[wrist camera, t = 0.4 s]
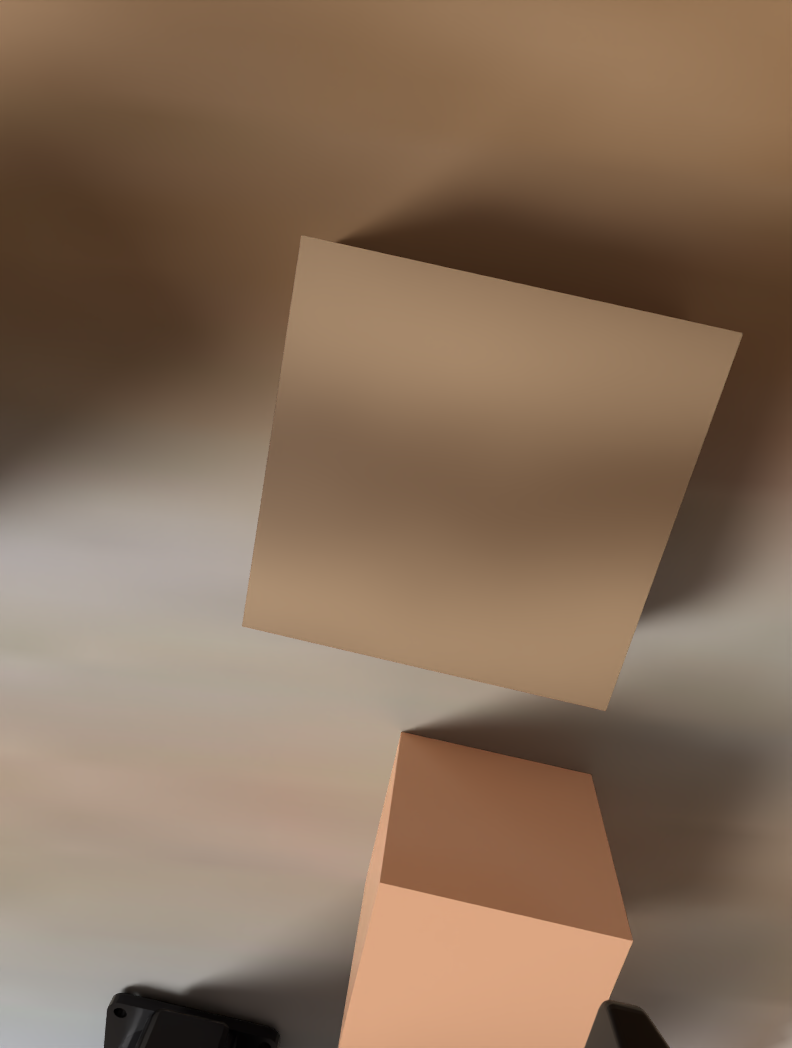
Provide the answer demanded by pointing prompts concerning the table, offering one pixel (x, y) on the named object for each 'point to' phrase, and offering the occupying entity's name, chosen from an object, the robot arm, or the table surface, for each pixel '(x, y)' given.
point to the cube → (484, 906)
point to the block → (475, 470)
